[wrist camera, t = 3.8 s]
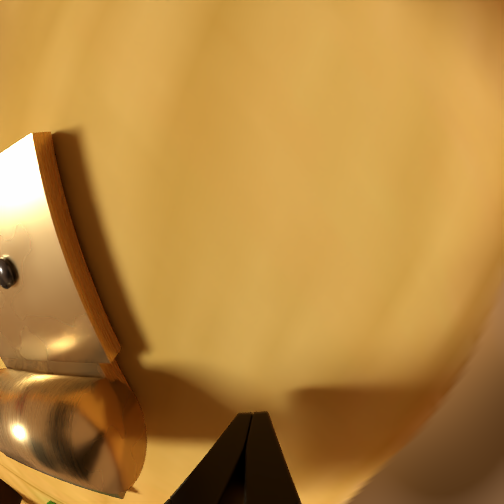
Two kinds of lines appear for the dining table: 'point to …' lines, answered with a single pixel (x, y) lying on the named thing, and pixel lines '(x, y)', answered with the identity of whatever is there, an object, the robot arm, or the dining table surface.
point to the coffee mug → (8, 494)
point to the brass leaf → (58, 338)
